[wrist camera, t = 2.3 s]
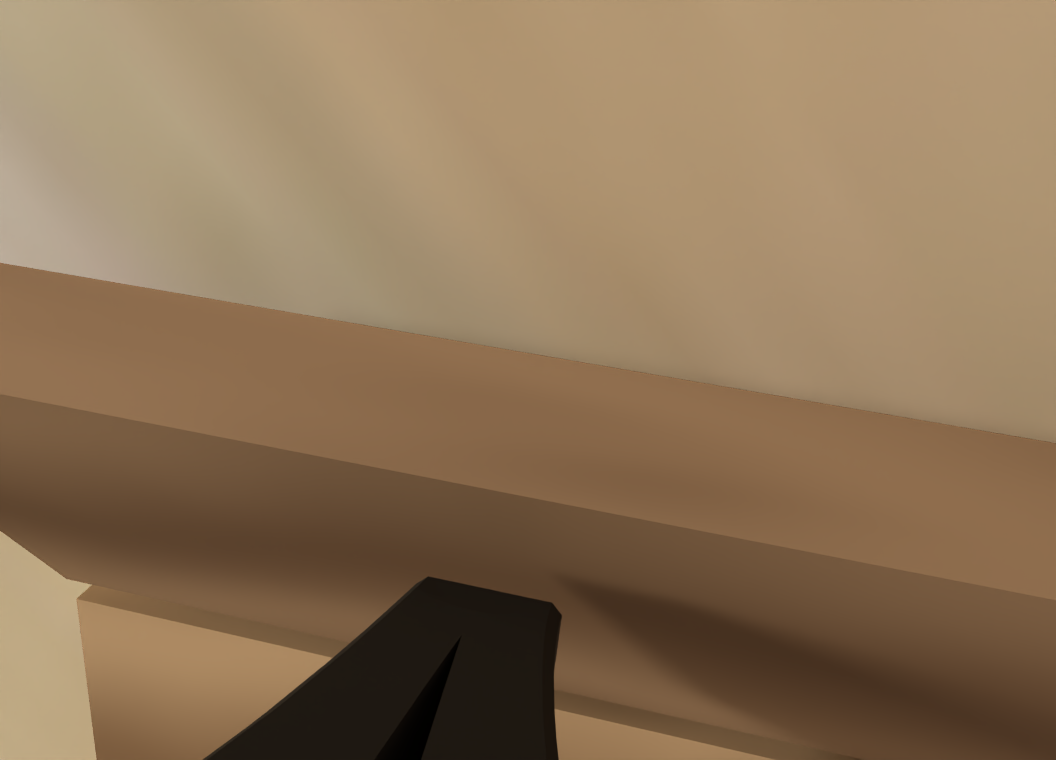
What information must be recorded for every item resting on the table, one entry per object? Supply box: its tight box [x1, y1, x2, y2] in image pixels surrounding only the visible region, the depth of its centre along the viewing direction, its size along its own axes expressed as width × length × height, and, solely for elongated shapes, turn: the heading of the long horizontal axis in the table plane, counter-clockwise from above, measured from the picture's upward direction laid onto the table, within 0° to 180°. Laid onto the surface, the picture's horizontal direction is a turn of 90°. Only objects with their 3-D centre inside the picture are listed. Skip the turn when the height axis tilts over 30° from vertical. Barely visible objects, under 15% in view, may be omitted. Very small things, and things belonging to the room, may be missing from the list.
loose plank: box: [0, 263, 1056, 760], centre depth 11 cm, size 7×22×2 cm
